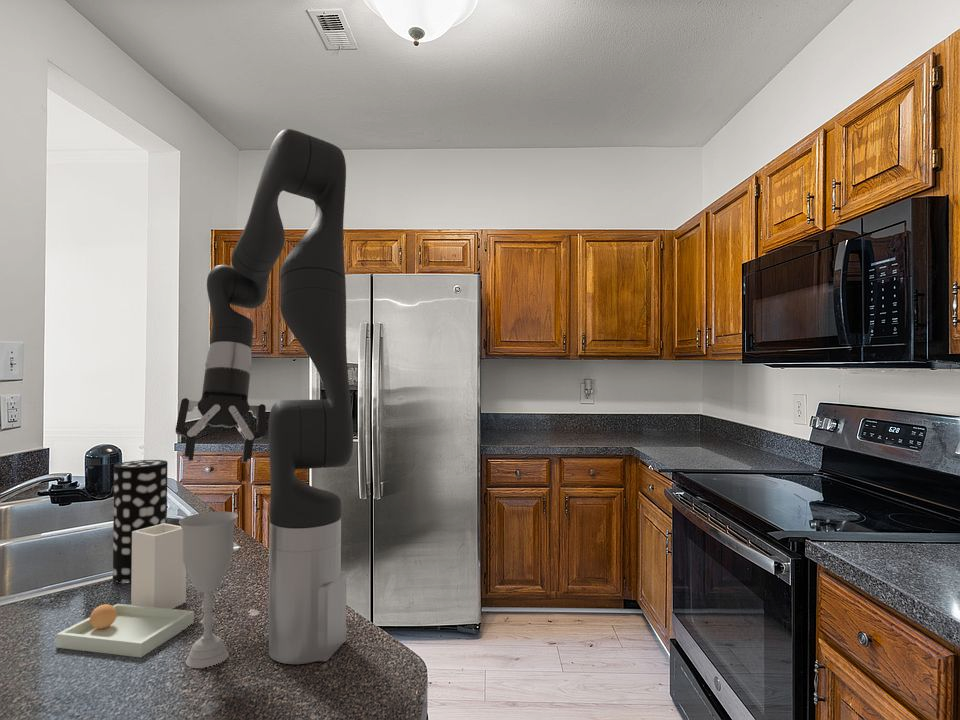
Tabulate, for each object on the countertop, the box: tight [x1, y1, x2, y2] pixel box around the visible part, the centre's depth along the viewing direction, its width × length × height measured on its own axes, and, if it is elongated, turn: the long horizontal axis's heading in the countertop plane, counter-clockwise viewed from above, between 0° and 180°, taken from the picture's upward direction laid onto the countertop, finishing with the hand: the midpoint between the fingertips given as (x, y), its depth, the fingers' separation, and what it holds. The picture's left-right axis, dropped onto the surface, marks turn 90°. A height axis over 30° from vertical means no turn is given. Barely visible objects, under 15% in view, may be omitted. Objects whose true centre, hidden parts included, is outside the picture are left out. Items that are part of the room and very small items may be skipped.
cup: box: [130, 523, 187, 609], centre depth 92 cm, size 5×5×12 cm
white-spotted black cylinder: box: [112, 459, 169, 582], centre depth 105 cm, size 8×8×20 cm
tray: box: [55, 603, 195, 658], centre depth 82 cm, size 13×10×2 cm
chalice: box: [178, 511, 239, 669], centre depth 76 cm, size 7×7×18 cm
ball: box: [89, 603, 117, 629], centre depth 83 cm, size 3×3×3 cm
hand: (217, 461), depth 101 cm, fingers open, 8 cm apart
